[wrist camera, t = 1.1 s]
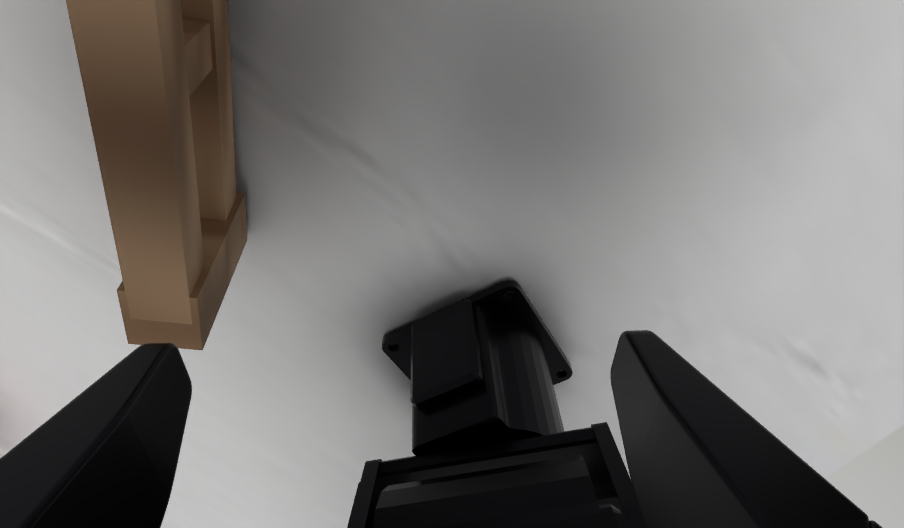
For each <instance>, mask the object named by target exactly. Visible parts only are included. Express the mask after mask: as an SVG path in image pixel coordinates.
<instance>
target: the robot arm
mask: <svg viewBox="0 0 904 528" xmlns="http://www.w3.org/2000/svg"><path fill="white" fill-rule="evenodd" d="M509 291H511V292H513V293H511V294H508V295H507V294H505V293H506V292H509ZM392 343H396V344H397V345H391V344H392ZM382 349H383V351H384V352H385V353H386V355H387V356H388V357H389V358H390V359H391V360H392V361H393V362H394V363H395V364H396V365H397V366H398V367H399V368H400V369H401V371H402V372H403V373H404V374H405V375H406V376H407V377H408V378H409V379H410V380H411V403H412V452H413V454H415V455H416V456H413V457H406V458H400V459H394V460H388V461H382V460H381V459H379V460H372V461H366V463H365V466H364V470H363V474H362V478H361V482H359V484H358V488H357V492H356V496H355V499H354V503H353V507H352V511H351V515H350V519H349V523H348V527H347V528H882V527H881V526H879V524H877V523H876V522H875V521H869V519H868V516H867V515H866V514H865V513H864V512H863V511H862V510H861V509H860V508H858V507H857V506H856V505H855V504H854V503H852V502H851V501H850V500H849V499H848V498H847V497H845V496H844V495H843V494H842V493H841V492H840V491H838V490H837V489H836V488H835V487H834V486H832V485H831V484H830V483H829V482H828V481H827V480H826V479H824V478H823V477H822V476H821V475H820V474H819V473H817V472H816V471H815V470H814V469H813V468H812V467H810V466H809V465H808V464H807V463H806V462H804V461H803V460H802V459H801V458H800V457H799V456H797V455H796V454H795V453H794V452H793V451H792V450H790V449H789V448H788V447H787V446H786V445H785V444H783V443H782V442H781V441H780V440H779V439H778V438H776V437H775V436H774V435H773V434H772V433H771V432H769V431H768V430H767V429H766V428H765V427H763V426H762V425H761V424H760V423H759V422H758V421H756V420H755V419H754V418H753V417H752V416H751V415H749V414H748V413H747V412H746V411H745V410H744V409H742V408H741V407H740V406H739V405H738V404H737V403H735V402H734V401H733V400H732V399H731V398H730V397H728V396H727V395H726V394H725V393H724V392H722V391H721V390H720V389H719V388H718V387H717V386H715V385H714V384H713V383H712V382H711V381H710V380H708V379H707V378H706V377H705V376H704V375H703V374H701V373H700V372H699V371H698V370H697V369H696V368H694V367H693V366H692V365H691V364H690V363H689V362H687V361H686V360H685V359H684V358H683V357H681V356H680V355H679V354H678V353H677V352H676V351H674V350H673V349H672V348H671V347H670V346H669V345H667V344H666V343H665V342H664V341H663V340H662V339H660V338H659V337H658V336H657V335H656V334H654V333H653V332H651V331H647V330H642V331H625V332H623V333H622V334H621V336H620V338H619V341H618V345H617V349H616V352H615V356H614V360H613V364H612V367H611V385H612V390H613V395H614V400H615V405H616V410H617V415H618V420H619V425H620V430H621V435H622V439H623V444H624V449H625V454H626V459H627V464H628V469H629V473H630V477H631V479H630V477H629V475H628V472H627V470H626V467H625V465H624V463H623V460H622V458H621V455H620V453H619V451H618V448H617V446H616V443H615V441H614V439H613V436H612V434H611V431H610V429H609V426H608V424H607V422H605V423H599V424H592V425H591V427H590V428H584V429H578V430H572V431H566V432H564V428H563V424H562V420H561V416H560V412H559V408H558V404H557V400H556V395H555V391H554V387H553V385H555V384H557V383H560V382H562V381H565V380H567V379H569V378H570V377H571V376H572V369H571V366H570V363H569V361H568V360H567V358H566V357H565V355H564V354H563V352H562V350H561V349H560V347H559V346H558V344H557V343H556V341H555V340H554V338H553V336H552V335H551V333H550V332H549V330H548V329H547V327H546V326H545V324H544V323H543V321H542V319H541V318H540V316H539V315H538V313H537V312H536V310H535V309H534V307H533V305H532V304H531V302H530V301H529V299H528V298H527V296H526V295H525V293H524V292H523V290H522V288H521V287H520V285H519V284H518V283H517V282H515V281H511V280H507V281H503V282H501V283H499V284H496V285H494V286H492V287H490V288H488V289H485V290H483V291H481V292H479V293H477V294H474V295H472V296H470V297H468V298H466V299H463V300H461V301H459V302H457V303H455V304H452V305H450V306H448V307H446V308H443V309H441V310H439V311H437V312H435V313H432V314H430V315H428V316H426V317H424V318H421V319H419V320H417V321H415V322H413V323H410V324H408V325H406V326H404V327H401V328H399V329H397V330H395V331H393V332H390V333H388V334H387V335H385V336H384V338H383V342H382ZM561 370H562V371H561ZM191 395H192V385H191V380H190V377H189V375H188V372H187V370H186V367H185V365H184V362H183V360H182V357H181V355H180V352H179V350H178V348H177V347H176V346H175V345H174V344H173V343H147V344H143V345H141V346H139V347H138V348H137V349H135V350H134V351H133V352H132V353H130V354H129V355H128V356H127V357H125V358H124V359H123V360H122V361H121V362H119V363H118V364H117V365H116V366H114V367H113V368H112V369H111V370H109V371H108V372H107V373H106V374H104V375H103V376H102V377H101V378H99V379H98V380H97V381H96V382H95V383H93V384H92V385H91V386H90V387H88V388H87V389H86V390H85V391H83V392H82V393H81V394H80V395H78V396H77V397H76V398H75V399H74V400H72V401H71V402H70V403H69V404H67V405H66V406H65V407H64V408H62V409H61V410H60V411H59V412H57V413H56V414H55V415H54V416H52V417H51V418H50V419H49V420H48V421H46V422H45V423H44V424H43V425H41V426H40V427H39V428H38V429H36V430H35V431H34V432H33V433H31V434H30V435H29V436H28V437H26V438H25V439H24V440H23V441H22V442H20V443H19V444H18V445H17V446H15V447H14V448H13V449H12V450H10V451H9V452H8V453H7V454H5V455H4V456H3V457H2V458H1V459H0V528H160V527H161V524H162V521H163V518H164V515H165V511H166V508H167V505H168V501H169V498H170V494H171V490H172V486H173V482H174V477H175V472H176V468H177V463H178V458H179V453H180V448H181V444H182V439H183V434H184V429H185V424H186V420H187V415H188V410H189V405H190V400H191ZM631 481H632V482H631Z"/></svg>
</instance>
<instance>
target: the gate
mask: <svg viewBox="0 0 904 528" xmlns="http://www.w3.org/2000/svg"><path fill="white" fill-rule="evenodd" d="M66 3H67V8H68V13H69V18H70V23H71V28H72V32H73V37H74V42H75V47H76V52H77V57H78V62H79V67H80V72H81V77H82V82H83V87H84V92H85V97H86V101H87V106H88V111H89V116H90V121H91V126H92V131H93V136H94V141H95V146H96V151H97V156H98V161H99V165H100V170H101V175H102V180H103V185H104V190H105V195H106V200H107V205H108V210H109V215H110V220H111V225H112V230H113V234H114V239H115V244H116V249H117V254H118V259H119V264H120V269H121V274H122V279H123V281H122V283H121V284H120V286H119V287H118V289H117V293H118V298H119V303H120V307H121V312H122V317H123V321H124V326H125V331H126V335H127V340H128V344H138V345H143V344H147V343H173V344H174V345H175V346H176V347H177V348H183V349H194V350H203V348H204V345H205V343H206V340H207V338H208V335H209V333H210V330H211V328H212V325H213V323H214V320H215V318H216V316H217V313H218V311H219V308H220V306H221V303H222V301H223V298H224V296H225V293H226V291H227V288H228V286H229V283H230V281H231V278H232V276H233V273H234V271H235V268H236V266H237V264H238V261H239V259H240V256H241V254H242V251H243V249H244V246H245V244H246V241H247V224H246V193H243V192H236V174H235V151H234V129H233V106H232V83H231V60H230V37H229V14H228V0H66Z"/></svg>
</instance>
